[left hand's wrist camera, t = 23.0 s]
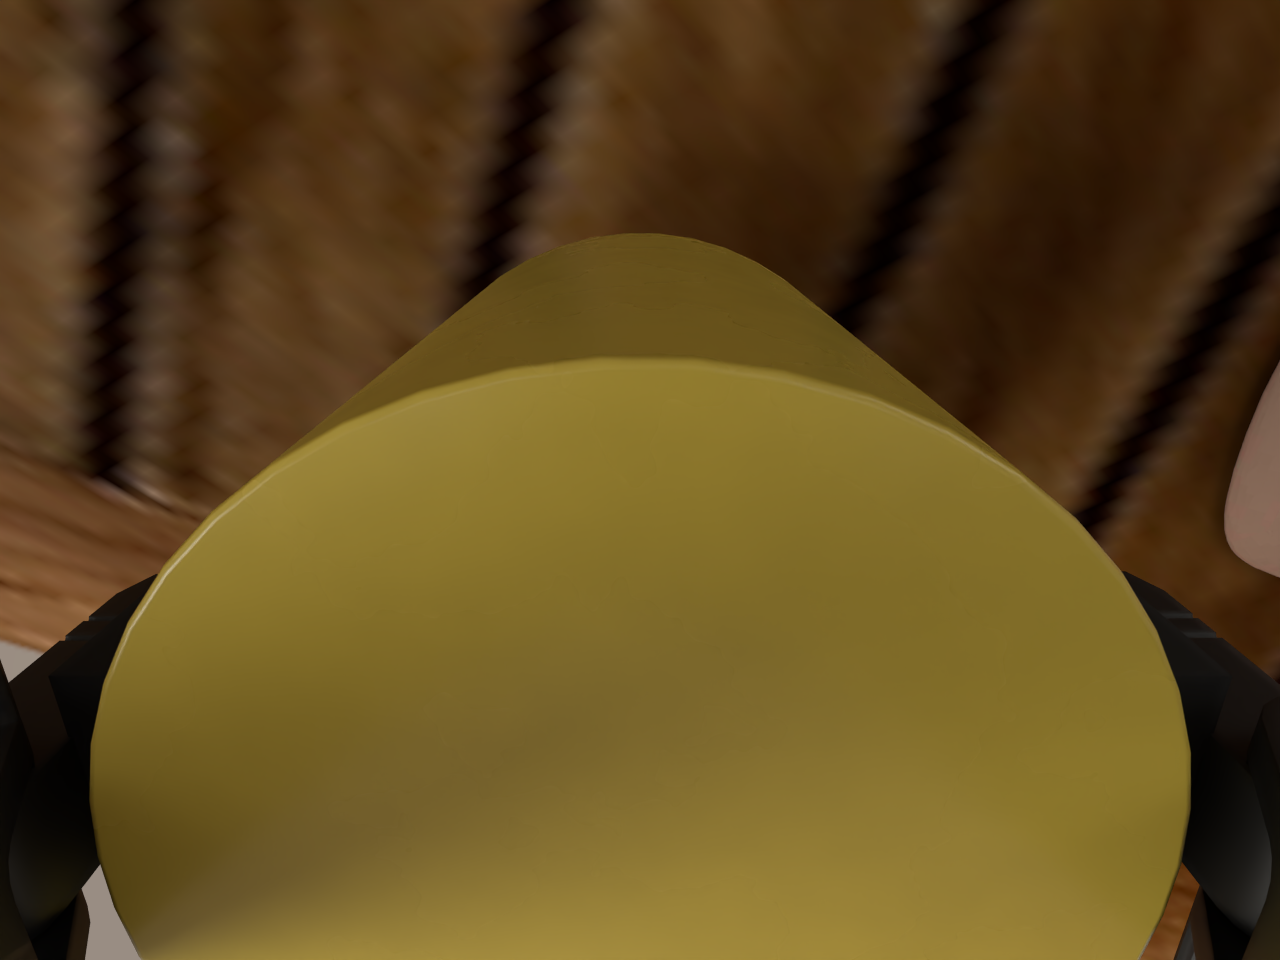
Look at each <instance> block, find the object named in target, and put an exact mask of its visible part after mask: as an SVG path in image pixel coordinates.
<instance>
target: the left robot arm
mask: <svg viewBox="0 0 1280 960" xmlns="http://www.w3.org/2000/svg"><path fill="white" fill-rule="evenodd" d="M1121 572H1122V573H1123V574H1124V576H1125V578H1126V579H1127V581H1128V583H1129V585H1130V586H1131V588H1132V590H1133V591H1134V593H1135V595H1136V596H1137V598H1138V600H1139V601H1140V603H1141V605H1142V606H1143V608H1144V610H1145V611H1146V613H1147V615H1148V616H1149V618H1150V620H1151V622H1152V623H1153V625H1154V627H1155V628H1156V630H1157V632H1158V635H1159V638H1160V640H1161V643H1162V646H1163V648H1164V651H1165V654H1166V656H1167V659H1168V662H1169V664H1170V667H1171V670H1172V672H1173V675H1174V678H1175V680H1176V683H1177V686H1178V688H1179V692H1180V696H1181V702H1182V707H1183V713H1184V718H1185V724H1186V729H1187V735H1188V740H1189V746H1190V751H1191V810H1190V816H1189V822H1188V828H1187V833H1186V839H1185V845H1184V850H1183V856H1182V862H1183V864H1184V865H1185V866H1186V868H1187V869H1188V870H1189V872H1190V873H1191V874H1192V875H1193V877H1194V878H1195V879H1196V881H1197V882H1198V883H1199V884H1200V886H1199V889H1198V892H1197V895H1196V897H1195V900H1194V903H1193V906H1192V909H1191V912H1190V914H1189V917H1188V920H1187V923H1186V926H1185V929H1184V931H1183V934H1182V937H1181V940H1180V943H1179V945H1178V948H1177V951H1176V954H1175V957H1174V960H1280V685H1279V684H1278V683H1277V682H1276V681H1274V680H1273V679H1272V678H1271V677H1269V676H1268V675H1267V674H1266V673H1265V672H1263V671H1262V670H1261V669H1260V668H1258V667H1257V666H1256V665H1255V664H1254V663H1252V662H1251V661H1250V660H1249V659H1247V658H1246V657H1245V656H1244V655H1243V654H1241V653H1240V652H1239V651H1238V650H1236V649H1235V648H1234V647H1233V646H1231V645H1230V644H1229V643H1228V642H1227V641H1225V640H1224V639H1223V638H1217V637H1216V632H1214V631H1213V630H1212V629H1211V628H1209V627H1208V626H1207V625H1206V624H1205V623H1203V622H1202V621H1201V620H1200V619H1198V618H1193V616H1192V613H1191V612H1190V611H1189V610H1187V609H1186V608H1185V607H1184V606H1183V605H1181V604H1180V603H1179V602H1178V601H1176V600H1175V599H1174V598H1173V597H1171V596H1170V595H1169V594H1168V593H1167V592H1165V591H1164V590H1162V589H1160V588H1158V587H1156V586H1154V585H1152V584H1150V583H1148V582H1146V581H1144V580H1142V579H1140V578H1138V577H1136V576H1134V575H1131V574H1129V573H1127V572H1125V571H1121ZM157 575H158V574H155V575H153V576H151V577H149V578H147V579H145V580H143V581H141V582H139V583H137V584H135V585H133V586H131V587H129V588H127V589H125V590H123V591H121V592H119V593H117V594H116V595H115V596H113V597H112V598H111V599H110V600H108V601H107V602H106V603H105V604H104V605H102V606H101V607H100V608H99V609H98V610H96V611H95V612H94V613H93V614H92V615H90V616H89V621H83V622H82V623H81V624H79V625H78V626H77V627H76V628H75V629H73V630H72V631H71V632H70V633H68V634H67V635H66V639H65V641H59V642H58V643H56V644H55V645H54V646H53V647H51V648H50V649H49V650H48V651H47V652H45V653H44V654H43V655H42V656H41V657H39V658H38V659H37V660H36V661H34V662H33V663H32V664H31V665H30V666H28V667H27V668H26V669H25V670H24V671H22V672H21V673H20V674H19V675H17V676H16V677H15V678H14V679H13V680H11V681H10V682H9V683H8V680H7V677H6V674H5V671H4V669H3V666H2V663H1V660H0V960H85V955H86V948H87V941H88V934H89V927H90V918H89V912H88V906H87V903H86V900H85V898H84V895H83V892H82V889H81V888H82V887H83V886H84V884H85V883H86V882H87V881H88V879H89V878H90V877H91V875H92V874H93V873H94V871H95V870H96V869H97V868H98V866H99V865H100V862H99V859H98V855H97V848H96V842H95V835H94V828H93V822H92V815H91V808H90V802H89V796H90V758H91V741H92V736H93V731H94V726H95V722H96V717H97V712H98V707H99V703H100V698H101V693H102V688H103V684H104V680H105V678H106V675H107V673H108V670H109V668H110V665H111V663H112V660H113V658H114V656H115V653H116V651H117V648H118V646H119V643H120V641H121V638H122V636H123V633H124V631H125V628H126V626H127V624H128V621H129V620H130V618H131V616H132V615H133V613H134V612H135V610H136V609H137V607H138V605H139V604H140V602H141V601H142V599H143V597H144V596H145V594H146V593H147V591H148V590H149V588H150V586H151V585H152V583H153V582H154V580H155V578H156V577H157Z"/></svg>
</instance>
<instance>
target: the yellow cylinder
mask: <svg viewBox="0 0 1280 960" xmlns="http://www.w3.org/2000/svg"><path fill="white" fill-rule="evenodd" d="M89 802H90V808H91V815H92V822H93V828H94V835H95V842H96V848H97V855H98V859H99V862H100V865H101V868H102V871H103V874H104V877H105V880H106V883H107V886H108V889H109V892H110V895H111V899H112V902H113V905H114V908H115V910H116V912H117V914H118V916H119V918H120V920H121V922H122V924H123V926H124V928H125V929H126V931H127V933H128V935H129V937H130V939H131V941H132V943H133V945H134V947H135V949H136V951H137V953H138V955H139V957H140V958H141V960H1139V959H1140V958H1141V956H1142V954H1143V952H1144V950H1145V948H1146V946H1147V944H1148V943H1149V941H1150V939H1151V937H1152V935H1153V933H1154V931H1155V929H1156V928H1157V926H1158V924H1159V922H1160V920H1161V918H1162V916H1163V914H1164V911H1165V908H1166V905H1167V903H1168V900H1169V897H1170V894H1171V891H1172V888H1173V886H1174V883H1175V880H1176V877H1177V874H1178V871H1179V868H1180V866H1181V862H1182V856H1183V850H1184V845H1185V839H1186V833H1187V828H1188V822H1189V816H1190V810H1191V751H1190V746H1189V740H1188V735H1187V729H1186V724H1185V718H1184V713H1183V707H1182V702H1181V696H1180V692H1179V688H1178V686H1177V683H1176V680H1175V678H1174V675H1173V672H1172V670H1171V667H1170V664H1169V662H1168V659H1167V656H1166V654H1165V651H1164V648H1163V646H1162V643H1161V640H1160V638H1159V635H1158V632H1157V630H1156V628H1155V627H1154V625H1153V623H1152V622H1151V620H1150V618H1149V616H1148V615H1147V613H1146V611H1145V610H1144V608H1143V606H1142V605H1141V603H1140V601H1139V600H1138V598H1137V596H1136V595H1135V593H1134V591H1133V590H1132V588H1131V586H1130V585H1129V583H1128V581H1127V579H1126V578H1125V576H1124V574H1123V573H1122V572H1121V571H1120V569H1119V568H1118V567H1117V566H1116V565H1115V563H1114V562H1113V561H1112V560H1111V559H1110V558H1109V556H1108V555H1107V554H1106V553H1105V552H1104V551H1103V549H1102V548H1101V547H1100V546H1099V545H1098V544H1097V542H1096V541H1095V540H1094V539H1093V538H1092V537H1091V535H1090V534H1089V533H1088V532H1087V531H1086V529H1085V528H1084V527H1083V526H1082V525H1081V524H1080V522H1079V521H1078V520H1077V519H1076V518H1075V517H1074V516H1072V515H1071V514H1070V513H1069V512H1068V511H1067V510H1065V509H1064V508H1063V507H1062V506H1061V505H1059V504H1058V503H1057V502H1056V501H1055V500H1054V499H1052V498H1051V497H1050V496H1049V495H1048V494H1046V493H1045V492H1044V491H1043V490H1042V489H1041V488H1039V487H1038V486H1037V485H1036V484H1035V483H1034V482H1032V481H1031V480H1030V479H1029V478H1028V477H1026V476H1025V475H1024V474H1023V473H1022V472H1021V471H1019V470H1018V469H1017V468H1016V467H1014V466H1013V465H1012V464H1011V463H1010V462H1008V461H1007V460H1006V459H1005V458H1003V457H1002V456H1001V455H1000V454H998V453H997V452H996V451H995V450H994V449H992V448H991V447H990V446H989V445H987V444H986V443H985V442H984V441H982V440H981V439H980V438H979V437H978V436H976V435H975V434H974V433H973V432H971V431H970V430H969V429H968V428H966V427H965V426H964V425H963V424H962V423H960V422H959V421H958V420H957V419H955V418H954V417H953V416H952V415H950V414H949V413H948V412H947V411H946V410H944V409H943V408H942V407H941V406H939V405H938V404H937V403H936V402H934V401H933V400H932V399H931V398H930V397H928V396H927V395H926V394H925V393H923V392H922V391H921V390H920V389H918V388H917V387H916V386H915V385H914V384H912V383H911V382H910V381H909V380H907V379H906V378H905V377H904V376H902V375H901V374H900V373H899V372H898V371H896V370H895V369H894V368H893V367H891V366H890V365H889V364H888V363H886V362H885V361H884V360H883V359H882V358H880V357H879V356H878V355H877V354H875V353H874V352H873V351H872V350H870V349H869V348H868V347H867V346H866V345H864V344H863V343H862V342H861V341H859V340H858V339H857V338H856V337H854V336H853V335H852V334H851V333H850V332H848V331H847V330H846V329H845V328H843V327H842V326H841V325H840V324H838V323H837V322H836V321H835V320H834V319H832V318H831V317H830V316H829V315H827V314H826V313H825V312H824V311H822V310H821V309H820V308H819V307H818V306H816V305H815V304H814V303H813V302H811V301H810V300H809V299H808V298H806V297H805V296H804V295H803V294H802V293H800V292H799V291H798V290H797V289H795V288H794V287H793V286H792V285H790V284H789V283H788V282H787V281H786V280H784V279H783V278H781V277H780V276H778V275H776V274H775V273H773V272H772V271H770V270H769V269H767V268H765V267H764V266H762V265H761V264H759V263H757V262H756V261H753V260H751V259H749V258H747V257H744V256H742V255H740V254H738V253H736V252H733V251H731V250H729V249H727V248H724V247H720V246H717V245H713V244H710V243H707V242H703V241H700V240H696V239H693V238H686V237H679V236H672V235H665V234H644V233H624V234H616V235H609V236H601V237H593V238H589V239H585V240H581V241H578V242H574V243H570V244H567V245H563V246H559V247H557V248H555V249H552V250H550V251H547V252H545V253H543V254H540V255H538V256H536V257H533V258H531V259H529V260H527V261H525V262H524V263H522V264H520V265H519V266H517V267H515V268H514V269H512V270H510V271H509V272H507V273H505V274H504V275H502V276H500V277H499V278H498V279H497V280H495V281H494V282H493V283H492V284H490V285H489V286H488V287H487V288H486V289H484V290H483V291H482V292H481V293H479V294H478V295H477V296H476V297H474V298H473V299H472V300H471V301H470V302H468V303H467V304H466V305H465V306H463V307H462V308H461V309H460V310H458V311H457V312H456V313H455V314H454V315H452V316H451V317H450V318H449V319H447V320H446V321H445V322H444V323H443V324H441V325H440V326H439V327H438V328H436V329H435V330H434V331H433V332H431V333H430V334H429V335H428V336H427V337H425V338H424V339H423V340H422V341H420V342H419V343H418V344H417V345H416V346H414V347H413V348H412V349H411V350H409V351H408V352H407V353H406V354H404V355H403V356H402V357H401V358H400V359H398V360H397V361H396V362H395V363H393V364H392V365H391V366H390V367H389V368H387V369H386V370H385V371H384V372H382V373H381V374H380V375H379V376H377V377H376V378H375V379H374V380H373V381H371V382H370V383H369V384H368V385H366V386H365V387H364V388H363V389H362V390H360V391H359V392H358V393H357V394H355V395H354V396H353V397H352V398H350V399H349V400H348V401H347V402H346V403H344V404H343V405H342V406H341V407H339V408H338V409H337V410H336V411H335V412H333V413H332V414H331V415H330V416H328V417H327V418H326V419H325V420H323V421H322V422H321V423H320V424H319V425H317V426H316V427H315V428H314V429H312V430H311V431H310V432H309V433H308V434H306V435H305V436H304V437H303V438H301V439H300V440H299V441H298V442H296V443H295V444H294V445H293V446H292V447H290V448H289V449H288V450H287V451H285V452H284V453H283V454H282V455H281V456H279V457H278V458H277V459H276V460H274V461H273V462H272V463H271V464H269V465H268V466H267V467H266V468H265V469H263V470H262V471H261V472H260V473H258V474H257V475H256V476H255V477H254V478H252V479H251V480H250V481H249V482H247V483H246V484H245V485H244V486H242V487H241V488H240V489H239V490H238V491H236V492H235V493H234V494H233V495H231V496H230V497H229V498H228V499H227V500H225V501H224V502H223V503H222V504H220V505H219V506H218V507H217V508H215V509H214V510H213V511H212V512H211V513H210V514H209V515H208V516H207V517H206V519H205V520H204V521H203V522H202V523H201V524H200V525H199V526H198V527H197V529H196V530H195V531H194V532H193V533H192V534H191V535H190V536H189V538H188V539H187V540H186V541H185V542H184V543H183V544H182V545H181V546H180V548H179V549H178V550H177V551H176V552H175V553H174V554H173V555H172V556H171V558H170V559H169V560H168V561H167V562H166V563H165V564H164V566H163V567H162V569H161V570H160V572H159V574H158V575H157V577H156V578H155V580H154V582H153V583H152V585H151V586H150V588H149V590H148V591H147V593H146V594H145V596H144V597H143V599H142V601H141V602H140V604H139V605H138V607H137V609H136V610H135V612H134V613H133V615H132V616H131V618H130V620H129V621H128V624H127V626H126V628H125V631H124V633H123V636H122V638H121V641H120V643H119V646H118V648H117V651H116V653H115V656H114V658H113V660H112V663H111V665H110V668H109V670H108V673H107V675H106V678H105V680H104V684H103V688H102V693H101V698H100V703H99V707H98V712H97V717H96V722H95V726H94V731H93V736H92V741H91V758H90V796H89Z"/></svg>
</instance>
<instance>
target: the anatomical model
mask: <svg viewBox="0 0 1280 960" xmlns="http://www.w3.org/2000/svg"><path fill="white" fill-rule="evenodd" d="M1224 529H1225V534H1226V538H1227V541H1228V543H1229V546H1230V548H1231V549H1232V550H1233V552H1234V553H1235V554H1236V555H1237V556H1238V557H1239V558H1241V559H1242V560H1243V561H1245V562H1246V563H1248V564H1250V565H1251V566H1253V567H1255V568H1258V569H1260V570H1262V571H1265V572H1267V573H1270V574H1272V575H1275V576H1277V577H1280V361H1279V363H1278V365H1277V367H1276V369H1275V371H1274V372H1273V374H1272V376H1271V378H1270V380H1269V382H1268V384H1267V386H1266V388H1265V390H1264V392H1263V394H1262V396H1261V399H1260V401H1259V404H1258V406H1257V408H1256V411H1255V413H1254V416H1253V418H1252V420H1251V423H1250V425H1249V428H1248V430H1247V433H1246V436H1245V438H1244V441H1243V444H1242V447H1241V450H1240V453H1239V456H1238V458H1237V461H1236V464H1235V467H1234V471H1233V475H1232V479H1231V483H1230V487H1229V491H1228V495H1227V499H1226V504H1225V512H1224Z"/></svg>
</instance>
